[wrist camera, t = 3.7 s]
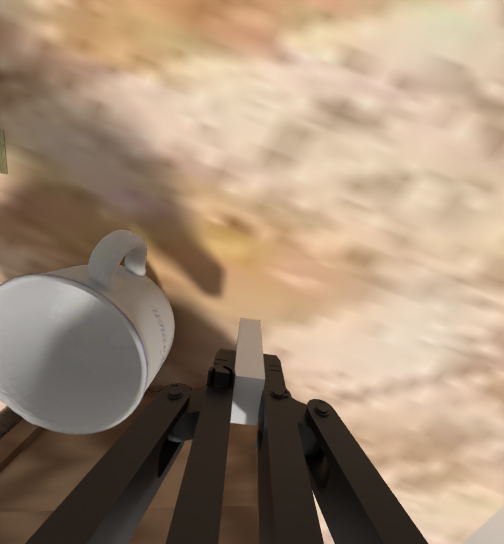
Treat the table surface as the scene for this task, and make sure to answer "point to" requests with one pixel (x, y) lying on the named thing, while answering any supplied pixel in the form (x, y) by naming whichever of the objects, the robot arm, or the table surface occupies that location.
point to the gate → (82, 458)
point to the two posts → (6, 417)
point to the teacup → (84, 339)
